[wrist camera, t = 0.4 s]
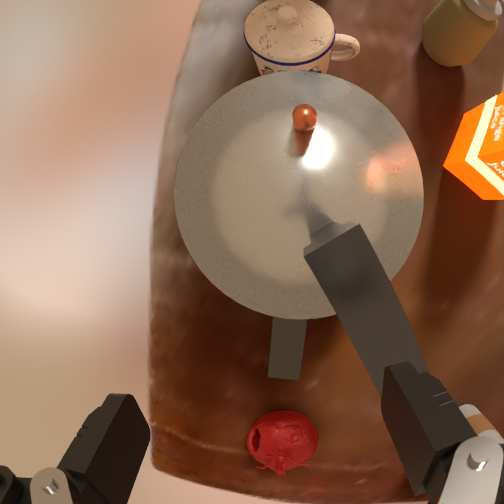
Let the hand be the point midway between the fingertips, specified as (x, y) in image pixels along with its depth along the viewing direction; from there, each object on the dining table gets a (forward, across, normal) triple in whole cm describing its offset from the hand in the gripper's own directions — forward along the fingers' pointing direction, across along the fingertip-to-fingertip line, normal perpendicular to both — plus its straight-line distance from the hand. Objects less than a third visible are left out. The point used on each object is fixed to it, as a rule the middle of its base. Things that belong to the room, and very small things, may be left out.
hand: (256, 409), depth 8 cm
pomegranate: (+25, +1, +28) cm, 37 cm away
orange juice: (+26, -29, -6) cm, 40 cm away
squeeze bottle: (+28, -29, -22) cm, 45 cm away
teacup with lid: (+30, -9, -20) cm, 37 cm away
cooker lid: (+15, -5, -1) cm, 16 cm away
